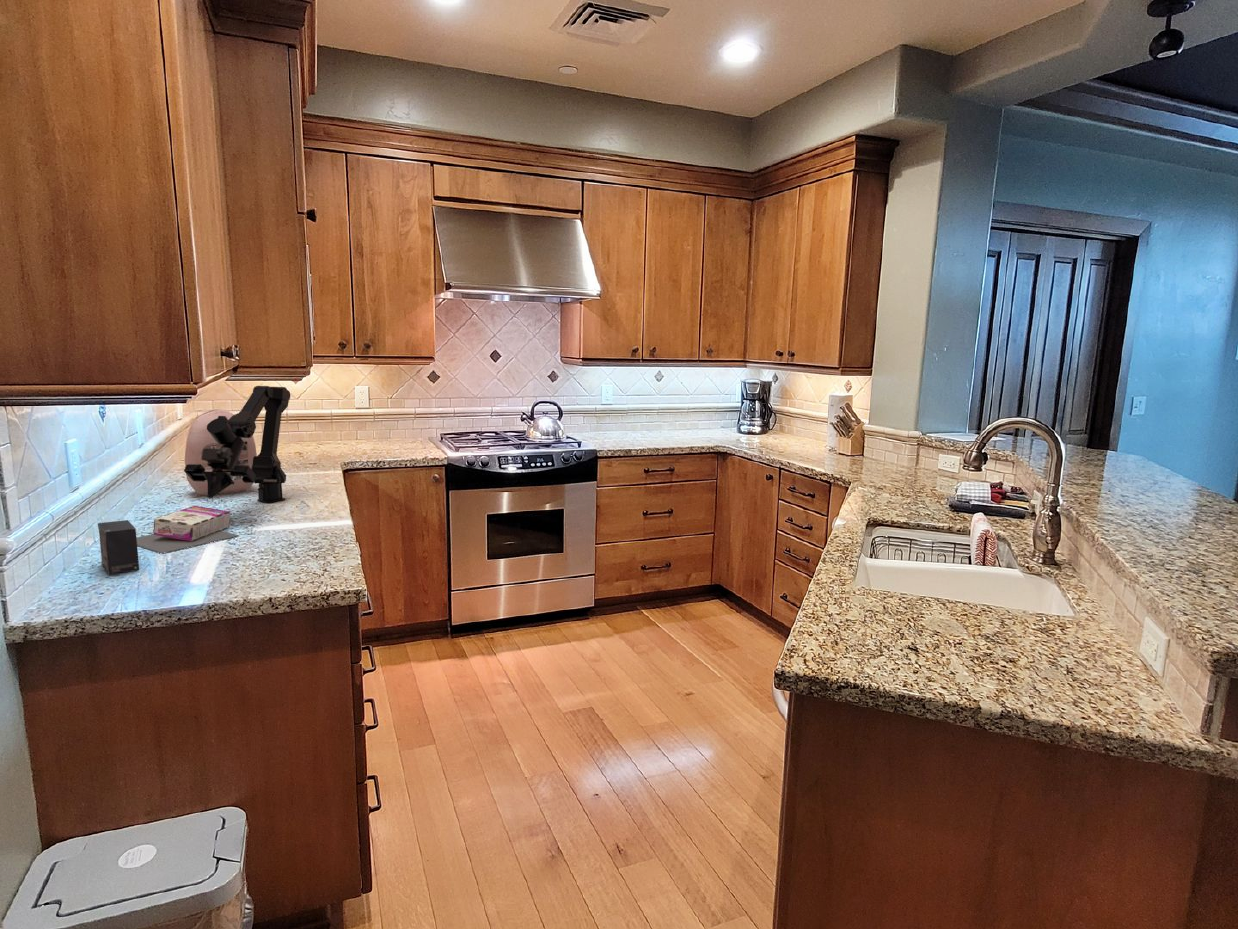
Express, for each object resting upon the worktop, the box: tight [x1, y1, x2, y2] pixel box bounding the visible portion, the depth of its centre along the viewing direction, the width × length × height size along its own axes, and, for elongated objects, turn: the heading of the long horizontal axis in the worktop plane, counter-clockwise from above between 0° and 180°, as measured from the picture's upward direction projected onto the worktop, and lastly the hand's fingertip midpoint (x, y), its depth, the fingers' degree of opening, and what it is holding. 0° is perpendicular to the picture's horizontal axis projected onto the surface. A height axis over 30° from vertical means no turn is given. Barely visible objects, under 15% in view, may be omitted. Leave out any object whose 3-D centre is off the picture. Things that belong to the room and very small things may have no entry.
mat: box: [136, 530, 240, 554], centre depth 191 cm, size 20×20×1 cm
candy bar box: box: [152, 505, 231, 541], centre depth 195 cm, size 11×5×16 cm
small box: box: [97, 519, 140, 576], centre depth 166 cm, size 11×6×10 cm, turn 43°
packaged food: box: [184, 408, 258, 496], centre depth 243 cm, size 22×20×30 cm
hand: (209, 497), depth 202 cm, fingers closed
